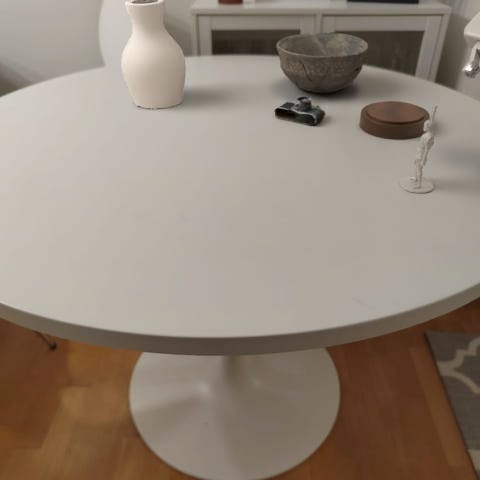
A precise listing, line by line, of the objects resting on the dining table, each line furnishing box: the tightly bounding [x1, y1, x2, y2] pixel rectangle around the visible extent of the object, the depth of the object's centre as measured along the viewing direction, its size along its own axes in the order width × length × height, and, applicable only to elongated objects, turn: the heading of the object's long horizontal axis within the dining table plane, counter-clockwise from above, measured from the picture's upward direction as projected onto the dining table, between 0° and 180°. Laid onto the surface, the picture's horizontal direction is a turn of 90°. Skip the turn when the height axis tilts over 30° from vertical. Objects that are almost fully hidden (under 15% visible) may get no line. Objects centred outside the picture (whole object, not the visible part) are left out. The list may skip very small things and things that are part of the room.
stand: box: [358, 100, 431, 140], centre depth 90 cm, size 13×13×3 cm
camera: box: [274, 95, 326, 126], centre depth 94 cm, size 5×10×4 cm, turn 53°
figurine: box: [399, 104, 438, 194], centre depth 69 cm, size 5×5×12 cm
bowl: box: [275, 31, 369, 94], centre depth 106 cm, size 21×21×10 cm
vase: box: [120, 0, 187, 110], centre depth 100 cm, size 14×14×20 cm
